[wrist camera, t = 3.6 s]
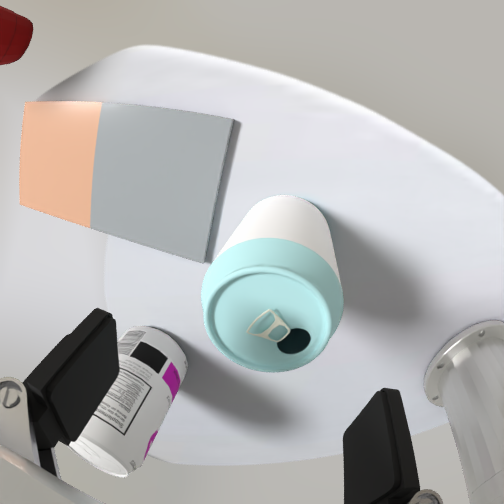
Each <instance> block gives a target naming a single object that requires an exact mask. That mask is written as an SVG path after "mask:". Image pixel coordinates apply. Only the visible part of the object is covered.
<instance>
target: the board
mask: <svg viewBox="0 0 504 504" xmlns="http://www.w3.org/2000/svg"><path fill="white" fill-rule="evenodd" d="M233 122H234V119H230V118H225V117H219V116H214V115H208V114H202V113H196V112H190V111H183V110H176V109H168V108H160V107H152V106H142V105H132V104H120V103H105V102H82V101H36V102H25V108H24V116H23V125H22V135H21V149H20V178H19V181H20V182H19V183H20V184H19V186H20V205H23V206H26V207H29V208H32V209H34V210H38V211H40V212H43V213H46V214H49V215H52V216H55V217H58V218H61V219H64V220H67V221H70V222H73V223H76V224H79V225H82V226H85V227H88V228H91V229H94V230H97V231H100V232H103V233H106V234H109V235H112V236H116V237H119V238H122V239H125V240H128V241H131V242H134V243H138V244H141V245H144V246H147V247H150V248H154V249H157V250H160V251H163V252H166V253H170V254H173V255H176V256H180V257H183V258H186V259H189V260H193V261H196V262H199V263H204V262H205V259H206V254H207V248H208V243H209V237H210V232H211V227H212V221H213V216H214V211H215V206H216V201H217V196H218V191H219V186H220V181H221V177H222V172H223V167H224V163H225V158H226V153H227V149H228V144H229V140H230V135H231V131H232V127H233Z"/></svg>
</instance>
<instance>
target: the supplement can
mask: <svg viewBox="0 0 504 504" xmlns="http://www.w3.org/2000/svg"><path fill="white" fill-rule="evenodd" d="M117 346H118V357H119V367H120V371H119V375H118V377H117V379H116V380H115V382H114V383H113V385H112V386H111V388H110V389H109V391H108V392H107V394H106V396H105V397H104V399H103V400H102V402H101V403H100V405H99V406H98V408H97V409H96V411H95V412H94V414H93V415H92V417H91V419H90V420H89V422H88V423H87V425H86V426H85V428H84V430H83V431H82V433H81V434H80V436H79V438H78V439H77V440H76V441H75V442H72V441H71V443H70V444H69V446H68V447H69V448H70V449H71V450H72V451H73V452H74V453H76V454H77V455H78V456H79V457H81V458H82V459H83V460H84V461H86V462H88V463H89V464H91V465H92V466H94V467H96V468H98V469H100V470H102V471H104V472H106V473H108V474H111V475H114V476H117V477H124V478H125V477H127V476H128V475H129V473H131V472H132V471H134V470H136V469H137V468H139V467H141V466H142V463H143V461H144V459H145V457H146V455H147V453H148V451H149V449H150V447H151V445H152V443H153V441H154V439H155V437H156V435H157V433H158V430H159V428H160V426H161V424H162V422H163V420H164V418H165V416H166V414H167V412H168V410H169V408H170V406H171V404H172V402H173V400H174V398H175V396H176V394H177V392H178V389H179V387H180V385H181V383H182V381H183V379H184V377H185V375H186V373H187V368H188V363H187V359H186V356H185V354H184V353H183V351H182V349H181V348H180V346H179V345H178V343H177V342H176V341H175V340H173V339H172V338H171V337H170V336H169V335H167V334H166V333H164V332H162V331H160V330H159V329H155V328H151V327H146V326H133V327H131V328H129V329H128V330H126V331H125V332H124V333H123V335H122V336H121V337H120V338H119V339H118V341H117ZM66 446H67V445H66Z"/></svg>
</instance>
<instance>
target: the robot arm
mask: <svg viewBox="0 0 504 504" xmlns="http://www.w3.org/2000/svg"><path fill="white" fill-rule="evenodd" d="M119 371H120V367H119V357H118V346H117V332H116V321H115V319H113V317H112V314H111V313H108V312H106V311H104V310H101V309H99V308H96V309H94V310H93V311H92V312H91V313H90V314H89V315H88V316H87V317H86V318H85V319H84V320H83V321H82V322H81V323H80V324H79V325H78V326H77V328H75V330H74V331H73V332H72V333H71V334H69V335H66V336H65V337H64V338H63V339H62V340H61V341H60V342H59V343H58V344H57V346H55V348H54V349H53V350H52V351H51V352H50V353H49V354H48V355H47V356H46V357H45V358H44V359H43V360H42V361H41V363H40V364H39V365H38V366H37V367H36V368H35V369H34V370H33V371H32V373H31V374H30V375H29V376H28V377H27V378H26V379H25V381H24V382H23V383H22V382H20V381H19V380H18V379H16V378H12V377H4V378H1V379H0V504H105V503H103V502H101V501H99V500H97V499H95V498H93V497H91V496H89V495H87V494H86V493H84V492H82V491H80V490H78V489H76V488H74V487H73V486H71V485H69V484H67V483H66V482H64V481H62V480H61V476H60V472H59V468H58V464H57V459H56V455H55V450H54V447H55V445H56V444H57V442H58V441H60V442H62V443H64V444H65V445H67V446H69V444H70V443H71V441H72V442H75V441H76V440H77V439H78V438H79V436H80V434H81V433H82V431H83V430H84V428H85V426H86V425H87V423H88V422H89V420H90V419H91V417H92V415H93V414H94V412H95V411H96V409H97V408H98V406H99V405H100V403H101V402H102V400H103V399H104V397H105V396H106V394H107V392H108V391H109V389H110V388H111V386H112V385H113V383H114V382H115V380H116V379H117V377H118V375H119ZM424 390H425V393H426V396H427V398H428V400H429V401H430V402H431V403H433V404H435V405H437V406H441V407H445V410H446V413H447V416H448V420H449V423H450V426H451V429H452V432H453V436H454V439H455V443H456V446H457V450H458V453H459V457H460V461H461V465H462V469H463V473H464V478H465V482H466V486H467V491H468V496H469V500H470V504H504V322H502V321H498V320H490V321H485V322H481V323H478V324H476V325H473V326H471V327H469V328H467V329H466V330H464V331H462V332H461V333H459V334H458V335H457V336H455V337H454V338H453V339H451V340H450V341H449V342H448V343H447V344H446V345H445V346H444V347H443V348H442V349H441V350H440V351H439V352H438V353H437V355H436V356H435V357H434V359H433V360H432V361H431V363H430V365H429V367H428V369H427V371H426V374H425V377H424ZM343 454H344V504H443V501H442V499H441V497H440V495H439V494H438V493H436V492H435V491H433V490H428V489H424V490H421V491H420V485H419V478H418V473H417V467H416V461H415V456H414V451H413V446H412V441H411V436H410V432H409V428H408V424H407V419H406V415H405V411H404V407H403V403H402V399H401V395H400V392H399V390H396V389H388V388H383V389H381V390H380V391H377V392H376V393H375V394H374V396H373V397H372V398H371V400H370V401H369V402H368V404H367V405H366V406H365V407H364V409H363V410H362V411H361V413H360V414H359V415H358V416H357V417H356V419H355V420H354V421H353V422H352V424H351V425H350V426H349V427H348V428H347V430H346V431H345V433H344V435H343Z"/></svg>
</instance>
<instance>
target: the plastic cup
mask: <svg viewBox="0 0 504 504" xmlns="http://www.w3.org/2000/svg"><path fill="white" fill-rule="evenodd" d="M32 34H33V23H32V22H31V21H30V20H28V19H27V18H25V17H23V16H21V15H18V14H16V13H14V12H13V11H11V10H8V9H6V8H4V7H2V6H0V65H4V64H10V63H12V62H15V61H17V60H19V59H20V58H21V57H22V55H23V54H24V53H25V51H26V49H27V48H28V46H29V43H30V41H31V38H32Z"/></svg>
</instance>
